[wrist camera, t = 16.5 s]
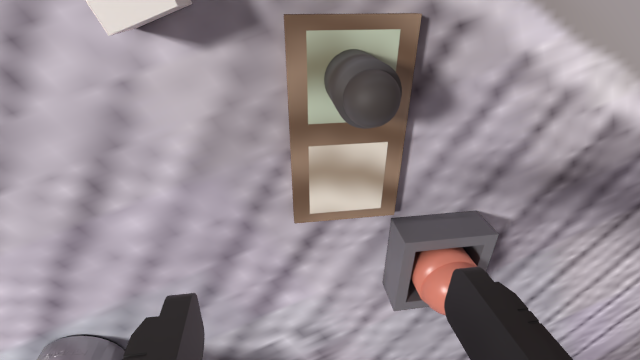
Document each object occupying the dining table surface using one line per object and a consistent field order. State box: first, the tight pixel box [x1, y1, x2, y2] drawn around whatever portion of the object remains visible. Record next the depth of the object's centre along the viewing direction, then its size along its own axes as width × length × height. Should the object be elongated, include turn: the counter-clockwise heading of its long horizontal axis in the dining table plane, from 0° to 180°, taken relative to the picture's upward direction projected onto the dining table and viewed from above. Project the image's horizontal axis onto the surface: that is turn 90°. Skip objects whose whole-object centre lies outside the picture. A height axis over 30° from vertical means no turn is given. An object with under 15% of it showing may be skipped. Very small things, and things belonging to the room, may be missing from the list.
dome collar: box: [383, 211, 499, 311], centre depth 35 cm, size 10×10×4 cm
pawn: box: [324, 49, 402, 129], centre depth 22 cm, size 4×4×7 cm
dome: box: [411, 247, 477, 315], centre depth 33 cm, size 6×6×6 cm
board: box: [284, 13, 422, 223], centre depth 28 cm, size 18×10×1 cm, turn 0°
